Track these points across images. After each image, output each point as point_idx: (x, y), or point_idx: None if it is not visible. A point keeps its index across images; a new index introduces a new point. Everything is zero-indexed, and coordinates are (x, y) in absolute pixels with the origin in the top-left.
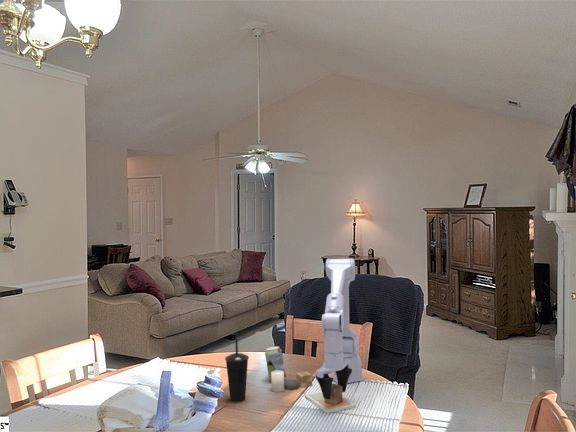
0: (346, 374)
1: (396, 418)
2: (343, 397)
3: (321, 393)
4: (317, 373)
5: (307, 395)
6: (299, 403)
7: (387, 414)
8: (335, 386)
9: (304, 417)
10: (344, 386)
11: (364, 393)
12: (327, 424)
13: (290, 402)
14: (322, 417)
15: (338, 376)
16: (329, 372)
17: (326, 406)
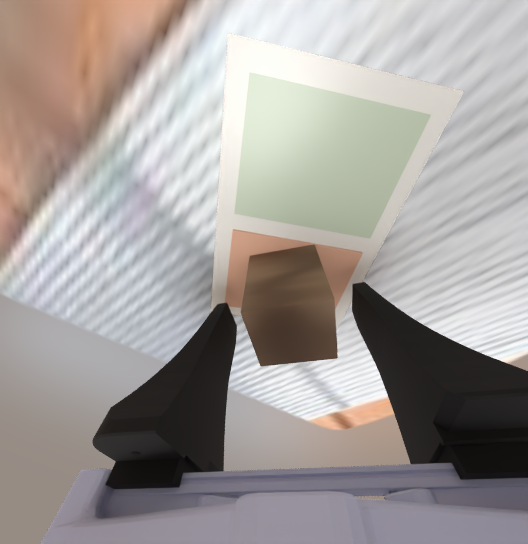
0: (403, 435)
1: (347, 403)
2: (375, 254)
3: (337, 123)
4: (64, 520)
5: (238, 71)
6: (149, 132)
7: (354, 386)
8: (300, 345)
9: (118, 284)
10: (365, 339)
11: (519, 245)
12: (172, 351)
13: (94, 67)
14: (182, 316)
15: (397, 355)
16: (224, 495)
17: (230, 290)
